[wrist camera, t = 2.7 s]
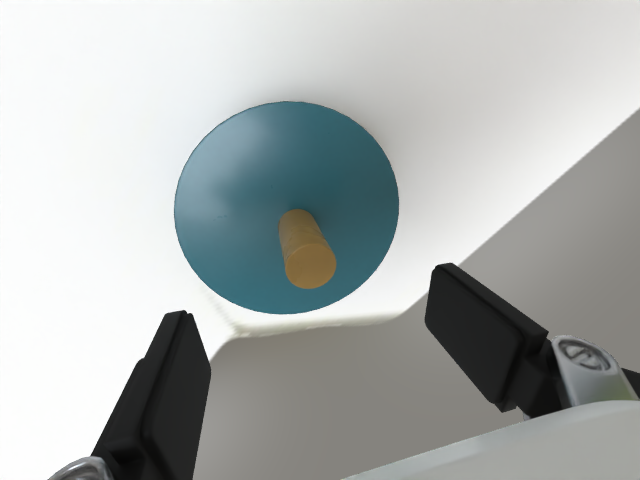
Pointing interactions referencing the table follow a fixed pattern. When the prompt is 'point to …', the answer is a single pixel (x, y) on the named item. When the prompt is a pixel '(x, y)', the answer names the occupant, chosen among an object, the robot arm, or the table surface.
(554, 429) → the robot arm
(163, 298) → the table surface
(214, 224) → the lid
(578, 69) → the table surface
